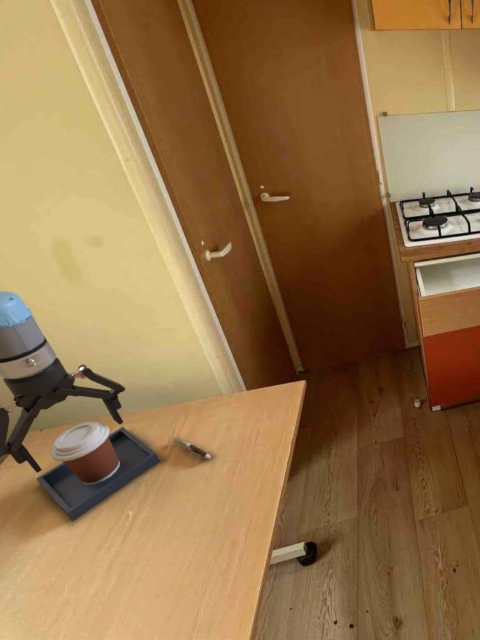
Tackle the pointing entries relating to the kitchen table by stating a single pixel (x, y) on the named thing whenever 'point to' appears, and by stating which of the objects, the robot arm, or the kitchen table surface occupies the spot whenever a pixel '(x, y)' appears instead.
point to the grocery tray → (84, 497)
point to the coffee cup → (87, 452)
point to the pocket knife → (194, 449)
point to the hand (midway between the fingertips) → (80, 443)
